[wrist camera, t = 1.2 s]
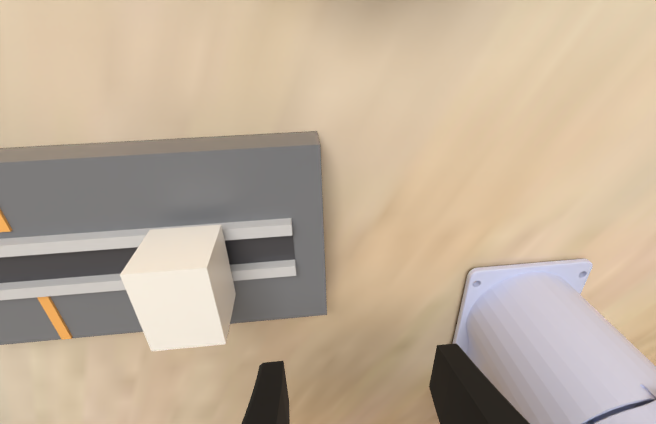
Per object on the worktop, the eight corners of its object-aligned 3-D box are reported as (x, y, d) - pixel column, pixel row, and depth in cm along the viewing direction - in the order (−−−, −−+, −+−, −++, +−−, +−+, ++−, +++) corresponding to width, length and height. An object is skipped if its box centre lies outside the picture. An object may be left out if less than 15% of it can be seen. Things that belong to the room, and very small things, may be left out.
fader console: (323, 290, 21) (327, 322, 19) (-21, 320, 20) (-61, 359, 18) (317, 131, 16) (321, 149, 14) (-142, 156, 15) (-219, 180, 13)
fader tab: (237, 283, 18) (225, 344, 14) (177, 288, 17) (151, 351, 14) (224, 215, 16) (206, 267, 12) (156, 220, 15) (119, 275, 12)
